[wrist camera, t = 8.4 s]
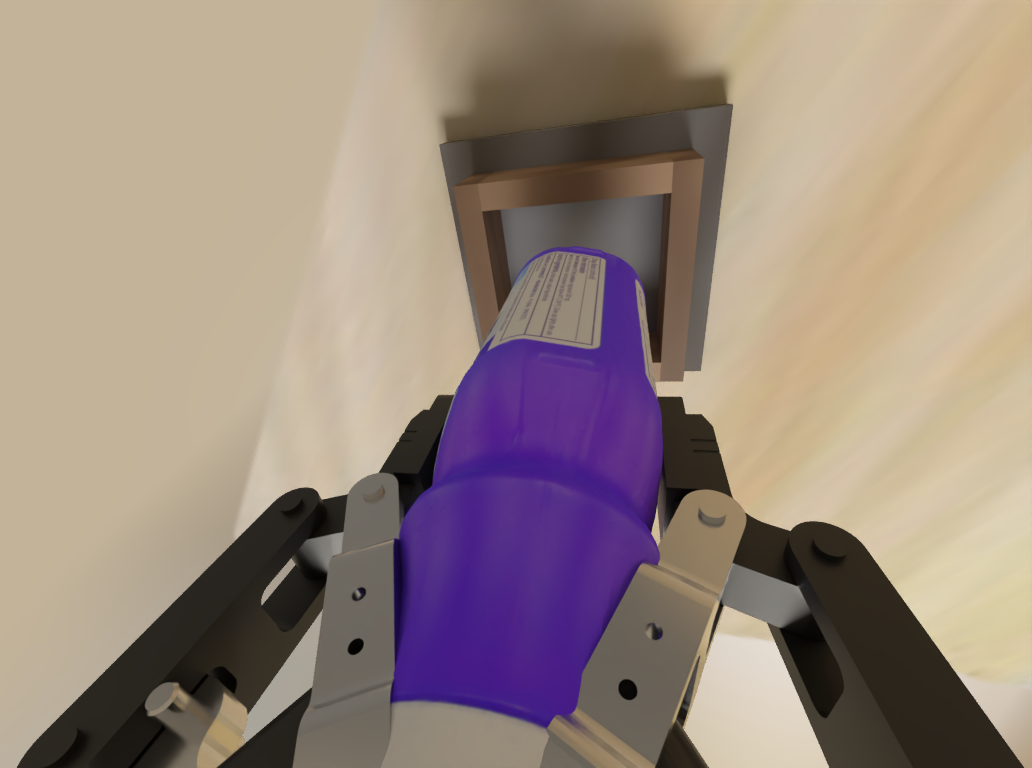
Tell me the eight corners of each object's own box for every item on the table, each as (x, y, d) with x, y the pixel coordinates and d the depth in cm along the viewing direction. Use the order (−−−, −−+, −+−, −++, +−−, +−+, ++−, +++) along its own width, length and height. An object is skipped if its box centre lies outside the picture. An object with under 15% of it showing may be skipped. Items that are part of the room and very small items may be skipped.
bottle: (521, 222, 18) (158, 737, 4) (660, 243, 17) (850, 946, 3) (507, 369, 22) (312, 869, 8) (619, 389, 21) (621, 970, 7)
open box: (727, 103, 20) (752, 108, 16) (697, 360, 28) (710, 404, 24) (446, 142, 23) (413, 153, 20) (488, 363, 31) (471, 402, 27)
